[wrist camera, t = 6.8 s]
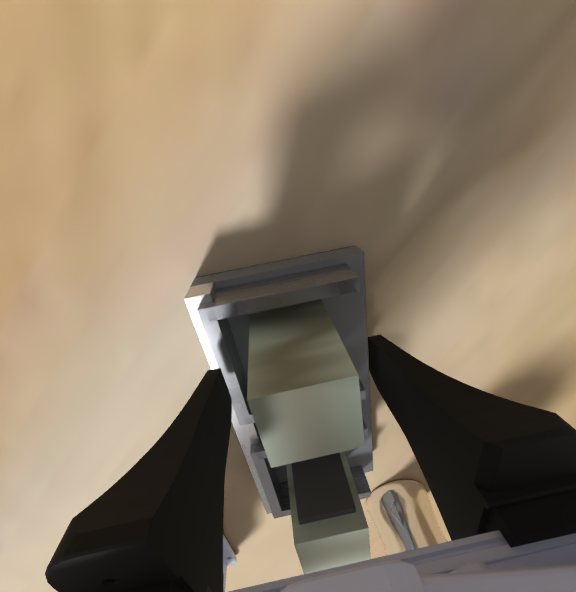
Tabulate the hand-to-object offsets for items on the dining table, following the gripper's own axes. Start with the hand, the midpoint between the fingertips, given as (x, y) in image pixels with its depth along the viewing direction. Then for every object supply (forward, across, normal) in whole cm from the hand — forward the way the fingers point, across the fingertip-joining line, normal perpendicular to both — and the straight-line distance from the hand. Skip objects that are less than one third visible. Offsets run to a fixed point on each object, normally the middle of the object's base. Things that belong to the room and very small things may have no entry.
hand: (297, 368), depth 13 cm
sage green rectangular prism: (+3, 0, 0) cm, 3 cm away
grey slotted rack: (+4, 0, +5) cm, 7 cm away
